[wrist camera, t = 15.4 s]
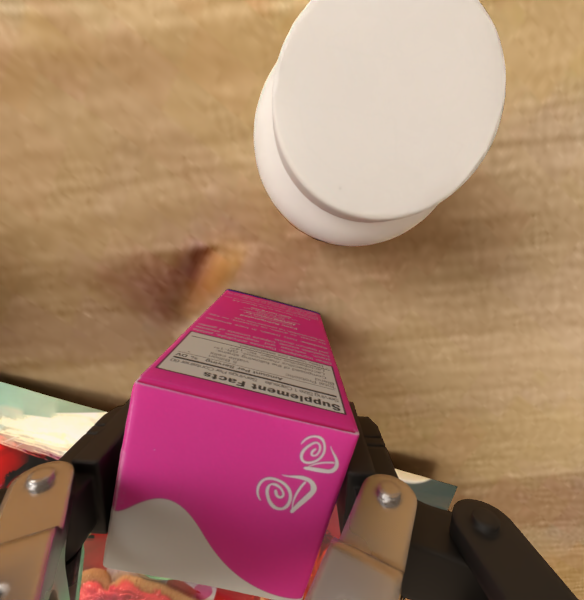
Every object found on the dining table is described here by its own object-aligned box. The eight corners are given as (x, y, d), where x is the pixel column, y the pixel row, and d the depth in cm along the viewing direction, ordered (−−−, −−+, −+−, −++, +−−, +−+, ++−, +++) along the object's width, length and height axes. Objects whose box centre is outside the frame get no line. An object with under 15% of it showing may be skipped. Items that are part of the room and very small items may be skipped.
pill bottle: (303, 257, 18) (314, 305, 7) (250, 150, 17) (169, 20, 6) (406, 204, 17) (587, 172, 7) (359, 89, 16) (486, -180, 5)
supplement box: (299, 399, 20) (300, 618, 9) (205, 375, 20) (85, 570, 9) (325, 311, 19) (366, 439, 8) (225, 285, 18) (115, 376, 7)
